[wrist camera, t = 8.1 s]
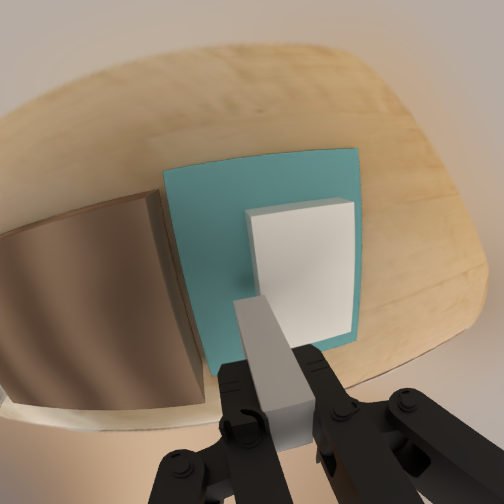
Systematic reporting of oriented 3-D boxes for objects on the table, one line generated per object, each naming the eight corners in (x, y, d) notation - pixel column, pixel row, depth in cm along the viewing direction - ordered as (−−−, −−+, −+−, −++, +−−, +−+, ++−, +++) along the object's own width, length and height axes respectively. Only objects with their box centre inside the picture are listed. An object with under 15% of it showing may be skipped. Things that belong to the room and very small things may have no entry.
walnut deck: (28, 375, 17) (13, 402, 13) (-30, 247, 13) (-59, 264, 9) (202, 364, 19) (205, 402, 16) (158, 189, 15) (144, 198, 11)
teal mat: (211, 372, 20) (212, 376, 19) (163, 170, 15) (162, 170, 14) (353, 337, 21) (356, 340, 21) (353, 148, 16) (357, 148, 16)
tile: (350, 331, 18) (338, 317, 20) (354, 202, 15) (338, 196, 17) (268, 354, 17) (261, 336, 19) (250, 216, 14) (244, 210, 16)
